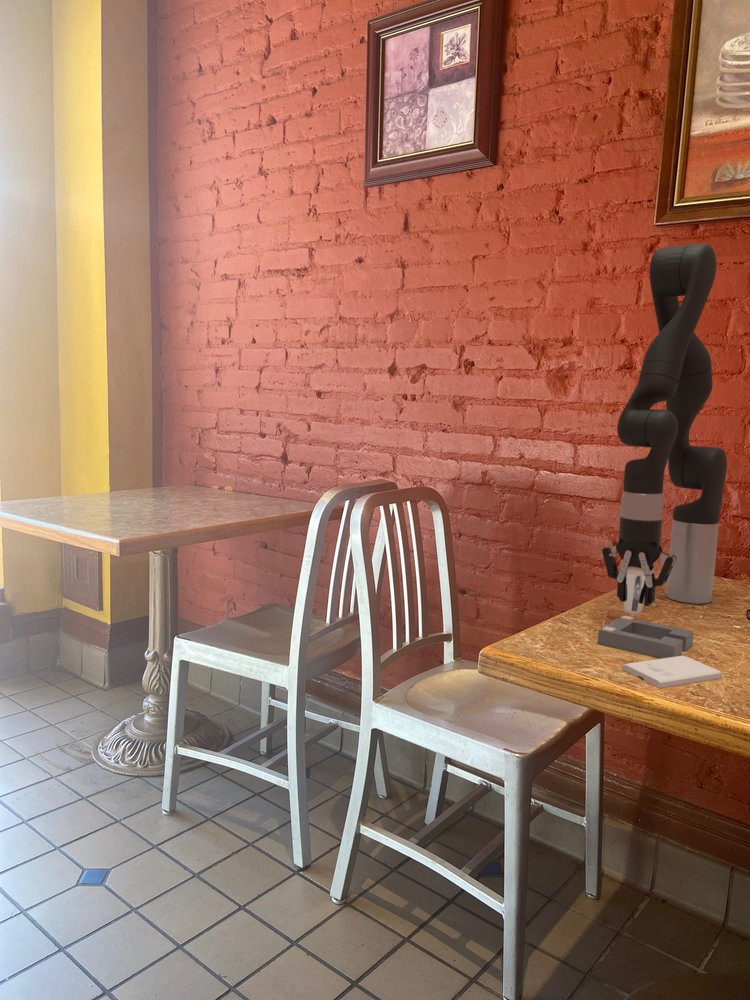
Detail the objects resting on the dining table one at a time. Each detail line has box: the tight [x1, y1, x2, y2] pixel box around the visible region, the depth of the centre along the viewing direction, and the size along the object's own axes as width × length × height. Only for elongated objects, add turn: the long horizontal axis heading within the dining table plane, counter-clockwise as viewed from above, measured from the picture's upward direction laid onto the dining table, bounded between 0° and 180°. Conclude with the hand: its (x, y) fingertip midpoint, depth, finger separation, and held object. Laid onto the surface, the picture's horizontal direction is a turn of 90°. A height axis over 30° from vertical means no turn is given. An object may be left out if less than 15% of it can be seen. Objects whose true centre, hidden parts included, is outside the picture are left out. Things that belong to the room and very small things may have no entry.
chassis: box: [597, 615, 695, 659], centre depth 132 cm, size 11×13×3 cm
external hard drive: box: [621, 655, 723, 689], centre depth 118 cm, size 2×8×12 cm
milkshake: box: [623, 562, 657, 615], centre depth 143 cm, size 4×5×10 cm
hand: (635, 602), depth 144 cm, fingers closed on milkshake, 4 cm apart
